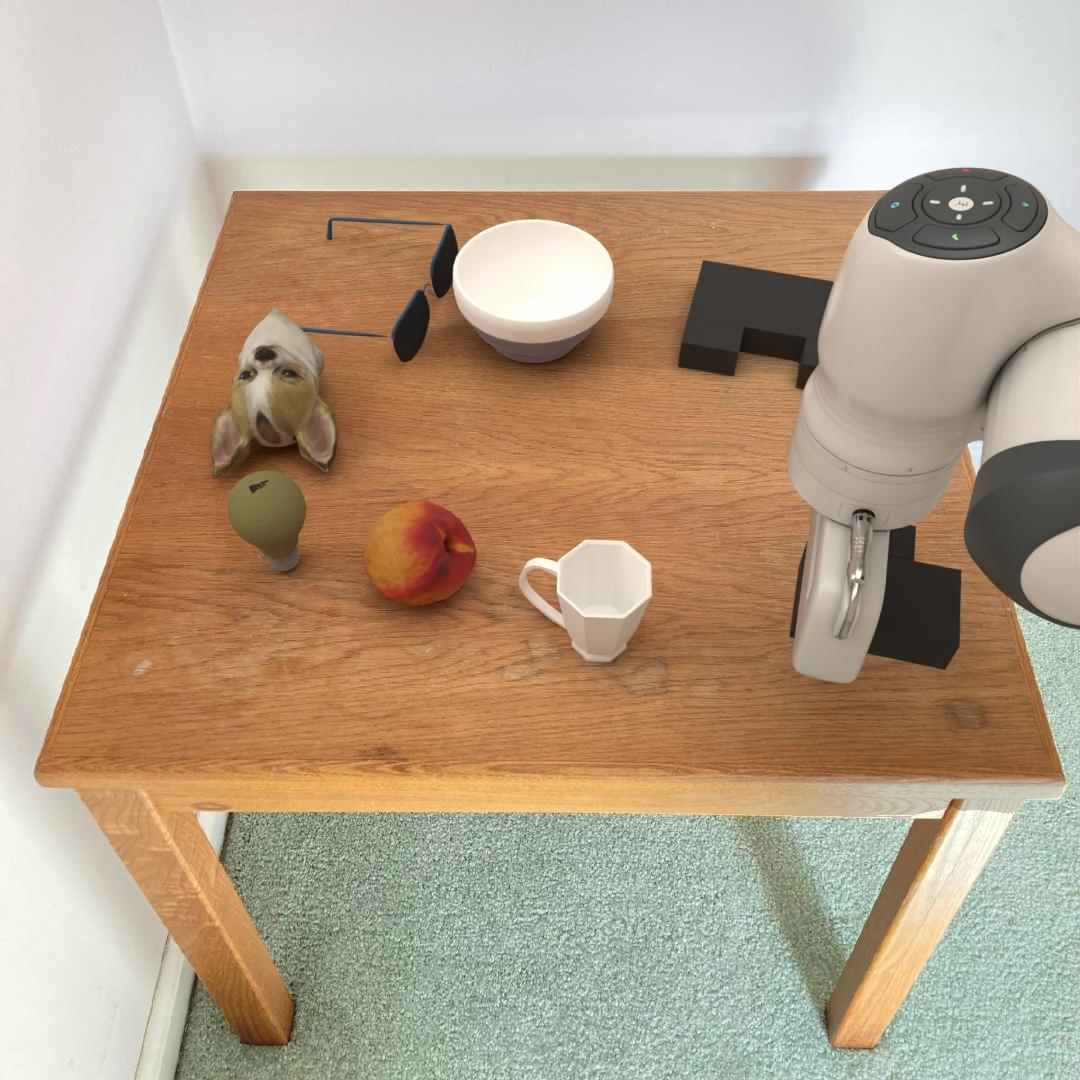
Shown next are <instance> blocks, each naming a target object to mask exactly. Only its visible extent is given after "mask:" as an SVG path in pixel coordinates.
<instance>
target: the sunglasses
mask: <svg viewBox="0 0 1080 1080" xmlns="http://www.w3.org/2000/svg"><path fill="white" fill-rule="evenodd" d="M333 222H352V223H353V222H355V223H374V224H390V225H391V224H392V225H415V226H445V228H444V231H443V234H442V236H441V239H440V241H439V244H438V246H437V249H436V251H435V253H434V255H433V257H432V259H431V262H430V267H429V278H431V279H430V280H431V284H430V283H425V284H424V286H423V289H419V288H418V289H416V291H415V292H414V293H413V295H412V297H411V298H410V300H409V301H408V303H407V304H406V307H405V308H404V309H403V311H402V312H401V314H400V315H399V317H398V319H397V320H396V322H395V324H394V325H393V327H392V331H391V333H390V334H391V335H390V336H389V335H383V334H377V333H376V334H375V333H368V332H359V331H350V330H338V329H325V328H317V327H316V328H315V327H313V328H312V327H304V326H302V327H301V326H299V328H300V329H301V330H303V331H304V332H305V333H313V334H314V333H315V334H316V333H317V334H329V335H339V336H341V335H343V336H353V337H354V336H355V337H356V336H357V337H369V338H390V339H391V340H392V345H393V349H394V352H395V354H396V356H397V358H398V359H399V361H400V362H401V363H403V364H405V363H406V364H407V363H409V362H411V361H412V360H413V359H414V358H415V357H416V355H417V354H418V353H419V351H420V349H421V348H422V346H423V343H424V341H425V339H426V336H427V333H428V330H429V326H430V320H431V308H430V302H429V300H428V297H427V295H426V292H427V294H428V295H429V296H431V297H434V296H436V298H438V299H442V298H443V297H444V296H446V295H447V293H449V290H450V289H451V287H452V285H453V266H454V263H455V260H456V256H457V255H458V253H459V246H458V245H459V244H458V239H457V237H456V236H457V235H456V232H455V231H454V228H453V224H452V223H448V224H447V223H442V222H433V221H419V220H417V221H416V220H402V219H401V220H400V219H387V218H386V219H384V218H365V217H341V216H339V217H337V216H333V217H332V216H331V217H330V218H329V219H328V220H327V230H326V239H327V240H333ZM431 285H432V289H431V288H429V287H427V286H431Z"/></svg>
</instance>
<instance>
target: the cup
mask: <svg viewBox="0 0 1080 1080" xmlns="http://www.w3.org/2000/svg"><path fill="white" fill-rule="evenodd" d="M534 569H536V570H542V571H544V572H546V573H548V574H550V575H552V576H554V577H556V578H557V579H556V595H557V600H558V604H559V606H560V611H561V612H559V611H558V610H556V609H555V608H554V607H553V606H552V605H551V604H550V603H549V602H547V601H546V600H545V599H543V598H542V597H541V596H540V595H539V594H538V593H537V592H536V591H535V590H534V589H533V588H532V587H531V585H530V583H529V580H528V578H527V577H528V572H529V571H532V570H534ZM518 586H519V589H520V591H521V593H522V595H523V596H524V597H525V598H526V599H527V601H529V603H530V604H532V605H533V606H534V607H535V608H536V609H537V610H539V612H541V613H542V614H543V615H545V616H546V617H547V618H548V619H549V620H551V621H552V622H553V623H555V624H557V625H558V626H559V627H561V628H562V629H565V630H566V631H567V634H568V636H569V638H570V640H571V648H573V649H574V650H575V652H576V653H578V654H579V655H580V656H581V657H582V658H583V659H584V660H585V661H586V662H600V663H611V662H612V661H613V660H615V659H616V658H617V657H618V656H619V655H621V654H622V653H623V652H624V651H626V650H627V643H628V642H629V641H630V639H631V638H632V637H633V636H634V635H635V632H636V631H637V630H638V629H639V625H640V623H641V621H642V619H643V616H644V614H645V612H646V610H647V608H648V605H649V603H650V601H651V599H652V596H653V591H652V590H653V589H652V588H653V586H652V563H651V562H650V561H649V560H647V559H646V558H645V557H644V556H642V554H640V553H639V552H638V551H636V549H635V548H633V547H632V546H631V545H629V544H628V543H627V542H626V541H624V540H613V539H610V540H609V539H608V540H607V539H584V540H583V541H582V542H581V543H579V544H578V545H577V546H575V547H573V549H571V550H570V551H568V552H567V553H566V554H565V555H563V556H562V557H560V558H559V559H558V560H557V561H554V560H552V559H548V558H545V557H535V558H532V559H529V560H527V561H526V564H525V565H524V566H523V568H522V570H521V573H520V574H519V577H518Z"/></svg>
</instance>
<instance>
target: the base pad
mask: <svg viewBox="0 0 1080 1080" xmlns="http://www.w3.org/2000/svg"><path fill="white" fill-rule="evenodd" d="M701 262H702V263H701V266H700V270H699V275H698V276H697V277H698V278H697V282H696V286H695V288H694V292H693V296H692V300H691V304H690V307H689V311H688V315H687V319H686V322H685V325H684V330H683V334H682V338H681V342H680V349H679V355H678V360H677V361H678V363H677V367H678V368H685V369H691V370H695V371H701V372H702V371H703V372H707V373H712V374H719V375H723V376H727V377H728V376H729V377H734V376H735V373H736V370H737V369H736V368H737V363H738V358H739V354H740V352H744V353H749V354H755V355H761V356H764V357H765V356H766V357H771V358H777V359H783V360H788V361H794V362H799V364H798V369H797V376H796V382H795V388H796V389H802V390H804V387H805V385H806V383H807V381H808V379H809V377H810V376H811V374H812V373H813V371H814V370H815V368H816V367H817V366H818V364H819V356H818V337H819V331H820V327H821V323H822V319H823V316H824V312H825V309H826V305H827V302H828V299H829V296H830V292H831V290H832V287H833V284H834V281H835V280H828V279H823V278H815V277H809V276H803V275H797V274H791V273H785V272H780V271H779V272H778V271H774V270H767V269H760V268H754V267H749V266H742V265H738V264H737V265H736V264H730V263H724V262H719V261H712V260H707V259H702V261H701Z"/></svg>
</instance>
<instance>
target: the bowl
mask: <svg viewBox="0 0 1080 1080" xmlns="http://www.w3.org/2000/svg"><path fill="white" fill-rule="evenodd" d="M614 286H615V271H614V264H613V260H612V258H611V256H610V253H609V251H608V250H607V249H606V248H605V247H604V245H603V244H602V242H600V241H599V240H598V239H596V237H594V236H593V235H592V234H590V233H588V232H586V231H585V230H583V229H581V228H579V227H576V226H573V225H570V224H568V223H564V222H560V221H557V220H556V221H555V220H549V219H539V218H538V219H536V218H535V219H533V218H532V219H519V220H512V221H506V222H503V223H500V224H497V225H493V226H491V227H489V228H487V229H484V230H482V231H481V232H479V233H478V234H476V235H475V236H473V237H472V238H470V239H469V240H468V241H467V242H466V243H465V244H464V245H463V246H462V247H461V249H460V251H458V255H457V256H456V260H455V263H454V266H453V282H452V289H453V294H454V298H455V302H456V304H457V308H458V309H459V311H460V312H461V314H462V316H463V317H464V318H465V320H466V321H467V322H468V324H469V326H470V327H472V329H473V330H475V331H476V333H477V334H478V336H480V338H481V339H483V341H484V342H485V343H487V344H488V345H491V346H492V347H493V348H494V350H496V351H497V352H498V353H500V354H501V355H502V356H504V357H505V358H508V359H511V360H513V361H516V362H521V363H527V364H528V363H529V364H541V363H547V362H551V361H554V360H557V359H560V358H561V357H564V356H565V355H566V354H568V353H569V352H570V351H572V350H573V348H575V347H576V346H577V345H578V344H579V343H581V342H582V341H583V340H585V339H586V338H587V336H588V335H589V334H590V333H591V332H592V331H593V330H594V329H595V327H596V326H597V325H598V324H599V322H600V321H601V320H602V318H603V317H604V315H605V314H606V312H607V311H608V308H609V307H610V304H611V301H612V298H613V291H614Z"/></svg>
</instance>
